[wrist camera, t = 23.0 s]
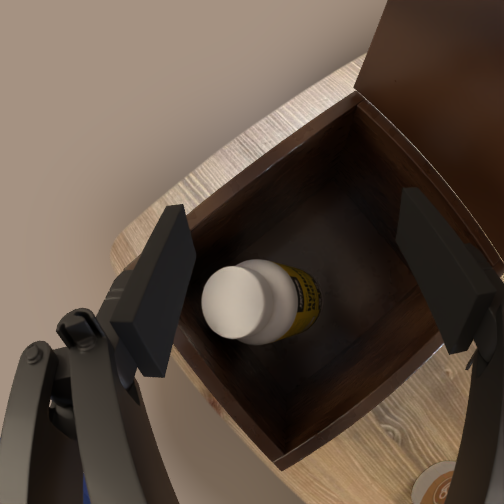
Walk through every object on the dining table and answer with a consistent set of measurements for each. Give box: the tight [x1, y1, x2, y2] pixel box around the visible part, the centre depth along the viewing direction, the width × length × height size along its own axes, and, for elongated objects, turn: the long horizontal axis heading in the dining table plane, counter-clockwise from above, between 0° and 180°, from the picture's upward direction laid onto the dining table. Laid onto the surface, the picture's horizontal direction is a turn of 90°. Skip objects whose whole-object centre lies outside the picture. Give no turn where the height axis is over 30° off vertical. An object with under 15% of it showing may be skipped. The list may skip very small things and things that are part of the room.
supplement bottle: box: [201, 259, 323, 345], centre depth 21 cm, size 5×5×10 cm
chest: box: [123, 91, 504, 471], centre depth 21 cm, size 17×14×13 cm
